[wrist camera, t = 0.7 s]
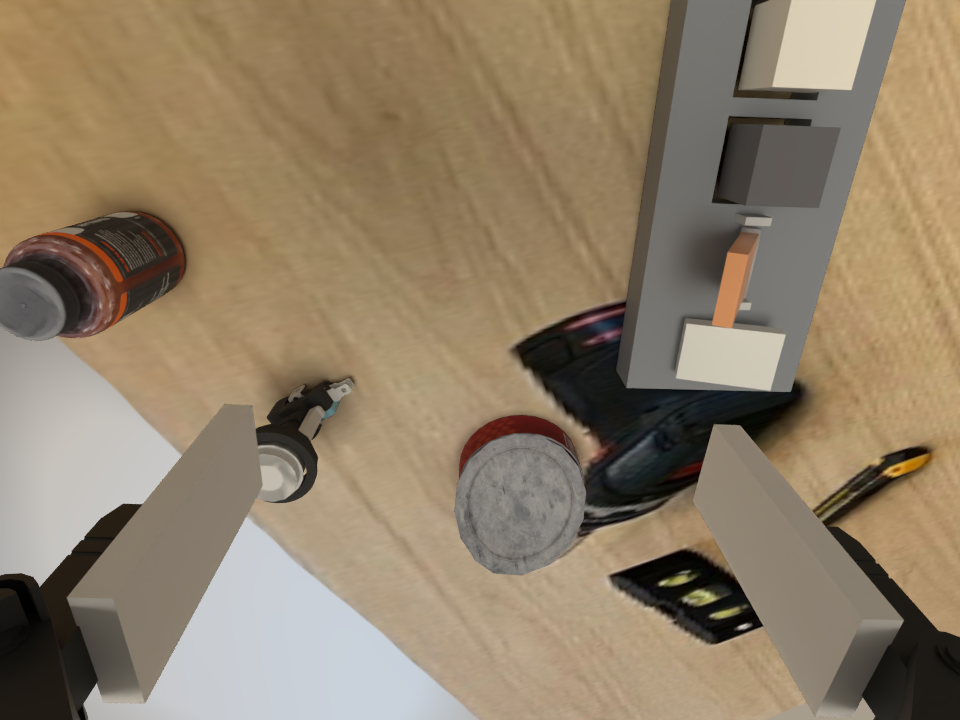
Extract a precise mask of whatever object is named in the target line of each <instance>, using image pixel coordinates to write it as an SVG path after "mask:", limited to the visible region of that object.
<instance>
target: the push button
mask: <svg viewBox="0 0 960 720" xmlns="http://www.w3.org/2000/svg"><path fill="white" fill-rule="evenodd" d="M344 383H348V384H349V386H348V384H344ZM304 387H305V385H303V386H301V387H299V388H297V389H295V390H294V391H293V392H292V393H291V395H290V396H289V398H288V399H287V398H284V399H282V400H280V401H278V402H277V403H276V404H275V406H274V407H273V409H272V410H271V412H270V413H269V415H268V416H267V419H268V420H269V421H270V423H271V424H269V425H265V426H261V427H258V428H257V429H256V437H257V445H258V452H259V460H260V468H261V475H262V483H263V486H262V488H261V490H260V492H259V493H258V495H257V497H256V499H259V500H263V501H266V502H271V503H286V502H291V501H294V500H297V499H299V498H301V497H302V496H304V495H305V494H306V493H307V492H308V491H309V490H310V489H311V488H312V486H313V484H314V482H315V479H316V476H317V461H318V456H317V454H316V452H315V450H314V448H313V446H312V444H311V440H313V439H314V438H315V437H316V436H317V434H318V432H319V430H320V428H321V426H322V425H321V424H323V422H324V420H325V418H328V417H330V416H332V415H333V414H334V413H335V412H336V409H337V407H338V404H339V402H340V400H341V397H343V396H345V395H347V394H349V393H351V392H352V390H351V388H352V387H354V384H353V382H352V381H351V380H350V378H348V379H346V380H344V381H342V382H340V383H338V384H337V383H336V382H335V383H333V384H332V385H331V384H330V383H329V381H328V382H325V383H321V384H319V385H317V386H316V387H314V388H313V389H312V390H310V391H308V392H306V393H304V394H302V395H301V393H300V392H302V390H303V389H304ZM299 389H300V390H299ZM297 390H298V391H297ZM346 390H347V391H346ZM296 391H297V392H296ZM344 391H346V392H344ZM305 468H306V470H307V473H306V474H305V475H304V476H303V472H304V470H305Z"/></svg>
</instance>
